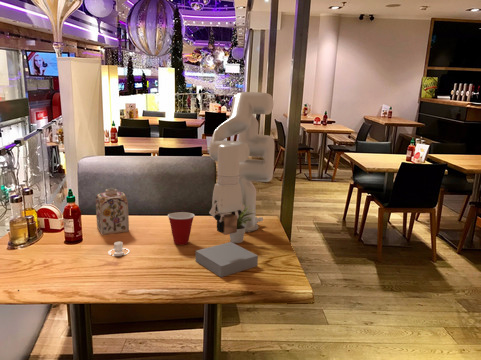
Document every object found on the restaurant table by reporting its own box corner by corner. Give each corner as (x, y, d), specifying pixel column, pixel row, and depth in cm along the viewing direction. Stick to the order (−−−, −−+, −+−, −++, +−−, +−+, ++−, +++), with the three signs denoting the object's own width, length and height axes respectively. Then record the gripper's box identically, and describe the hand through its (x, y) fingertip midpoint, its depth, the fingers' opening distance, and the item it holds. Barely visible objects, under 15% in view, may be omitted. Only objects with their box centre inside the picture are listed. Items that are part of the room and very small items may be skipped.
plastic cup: (194, 237, 171) (194, 210, 169) (194, 247, 161) (194, 218, 158) (168, 237, 170) (168, 210, 167) (166, 247, 160) (166, 218, 157)
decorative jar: (96, 227, 180) (94, 187, 177) (123, 223, 186) (121, 185, 182) (101, 235, 170) (99, 194, 166) (129, 231, 176) (128, 191, 172)
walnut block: (228, 228, 147) (228, 212, 146) (236, 232, 143) (237, 215, 142) (217, 230, 144) (217, 214, 143) (225, 234, 140) (225, 218, 139)
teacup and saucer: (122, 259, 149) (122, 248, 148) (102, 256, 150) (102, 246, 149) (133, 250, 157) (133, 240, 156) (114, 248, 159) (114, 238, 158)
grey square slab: (230, 251, 158) (230, 241, 157) (257, 266, 145) (257, 255, 144) (195, 261, 148) (195, 250, 147) (220, 277, 136) (221, 266, 135)
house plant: (240, 251, 158) (241, 211, 155) (212, 243, 166) (212, 204, 162) (259, 240, 170) (260, 203, 166) (232, 233, 177) (233, 197, 174)
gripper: (240, 175, 148) (239, 223, 152) (201, 180, 138) (200, 231, 141) (254, 179, 142) (252, 228, 146) (213, 184, 132) (212, 237, 136)
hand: (226, 229), depth 144 cm, fingers closed on walnut block, 5 cm apart
